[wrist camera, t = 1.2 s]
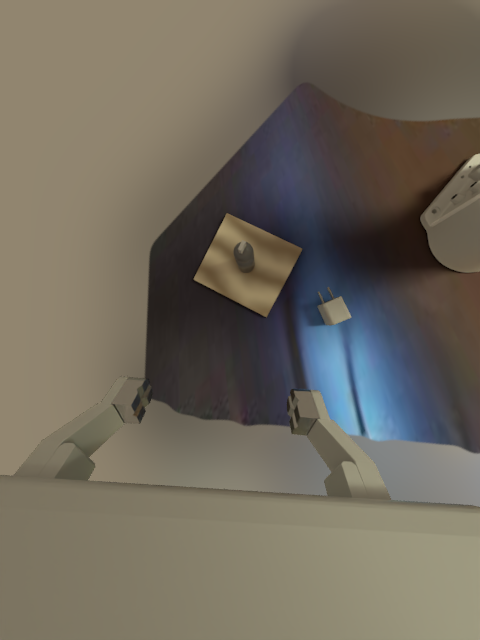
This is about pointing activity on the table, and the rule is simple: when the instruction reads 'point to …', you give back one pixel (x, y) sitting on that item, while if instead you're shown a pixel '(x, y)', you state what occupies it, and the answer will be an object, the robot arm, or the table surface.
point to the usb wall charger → (333, 310)
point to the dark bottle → (244, 256)
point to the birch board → (263, 280)
